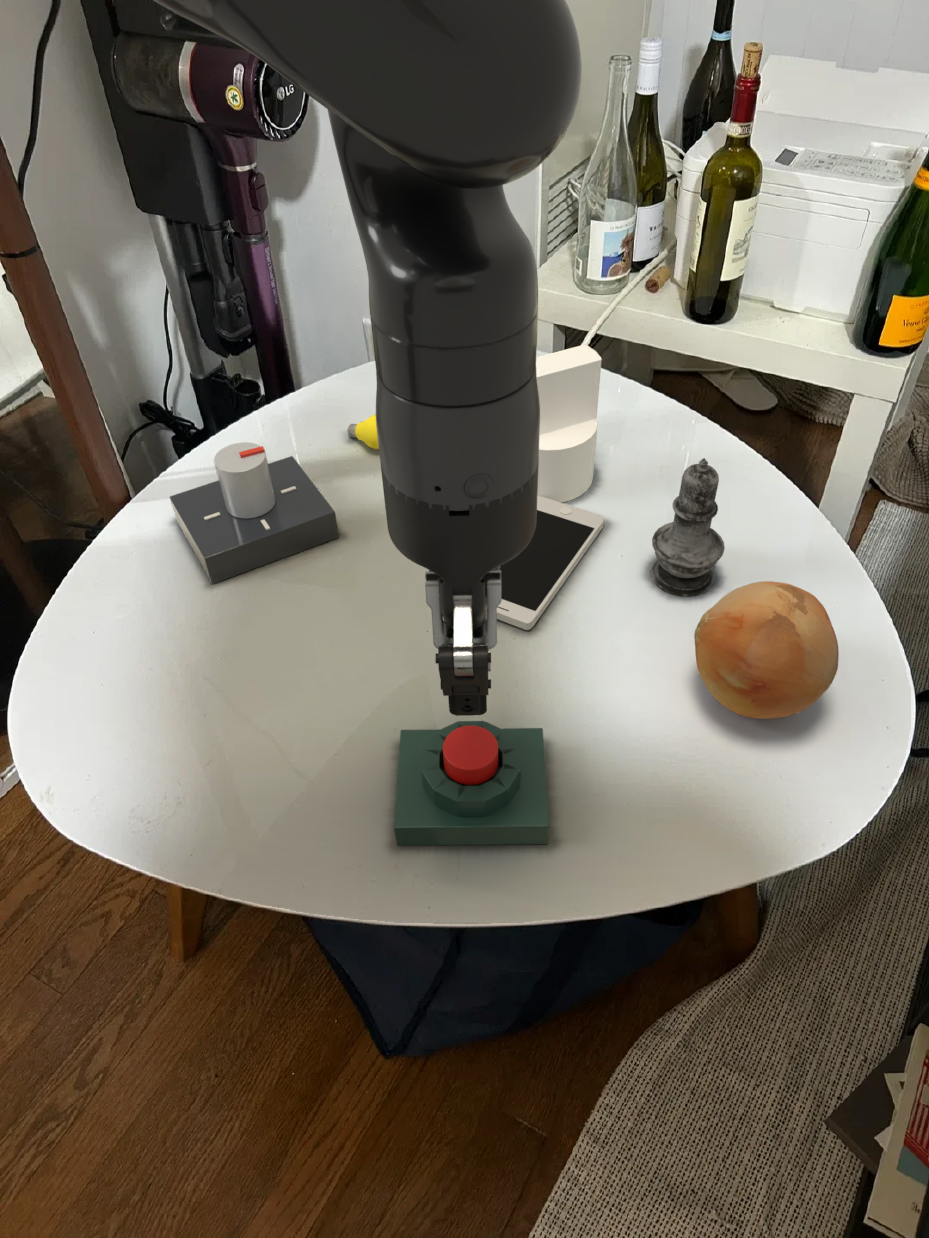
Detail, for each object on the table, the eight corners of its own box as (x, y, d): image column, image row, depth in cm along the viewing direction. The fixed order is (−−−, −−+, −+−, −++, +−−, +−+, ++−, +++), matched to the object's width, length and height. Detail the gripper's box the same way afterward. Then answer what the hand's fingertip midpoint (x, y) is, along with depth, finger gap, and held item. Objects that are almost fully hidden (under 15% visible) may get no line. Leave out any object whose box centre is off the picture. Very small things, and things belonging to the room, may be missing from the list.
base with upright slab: (564, 439, 93) (571, 329, 85) (610, 487, 87) (622, 374, 79) (484, 463, 91) (482, 352, 82) (526, 514, 85) (528, 400, 76)
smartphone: (606, 523, 84) (606, 515, 83) (529, 631, 74) (529, 623, 73) (535, 501, 86) (535, 493, 85) (452, 603, 77) (452, 595, 76)
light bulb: (393, 458, 92) (375, 432, 89) (349, 454, 95) (331, 430, 93) (408, 432, 93) (392, 407, 90) (365, 430, 97) (348, 405, 94)
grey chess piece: (643, 593, 77) (661, 476, 69) (650, 548, 81) (668, 432, 73) (715, 603, 76) (742, 486, 68) (719, 557, 80) (745, 441, 72)
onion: (687, 638, 73) (707, 542, 66) (817, 656, 72) (852, 559, 65) (680, 733, 67) (702, 638, 60) (823, 755, 65) (863, 660, 58)
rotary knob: (232, 524, 80) (219, 474, 77) (221, 496, 83) (207, 447, 79) (281, 510, 81) (271, 460, 78) (268, 483, 84) (257, 434, 81)
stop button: (443, 785, 60) (442, 770, 58) (444, 741, 62) (443, 725, 61) (498, 785, 60) (498, 769, 58) (497, 740, 62) (497, 724, 61)
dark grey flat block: (212, 584, 79) (203, 557, 77) (177, 522, 86) (168, 494, 83) (339, 537, 83) (335, 510, 81) (297, 481, 90) (292, 454, 87)
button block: (396, 846, 61) (391, 812, 58) (402, 748, 66) (398, 713, 64) (548, 844, 61) (550, 810, 58) (541, 746, 66) (543, 711, 63)
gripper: (389, 375, 49) (411, 610, 61) (368, 549, 39) (400, 787, 51) (531, 372, 48) (525, 608, 61) (547, 546, 38) (536, 785, 51)
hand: (468, 689), depth 56 cm, fingers closed
